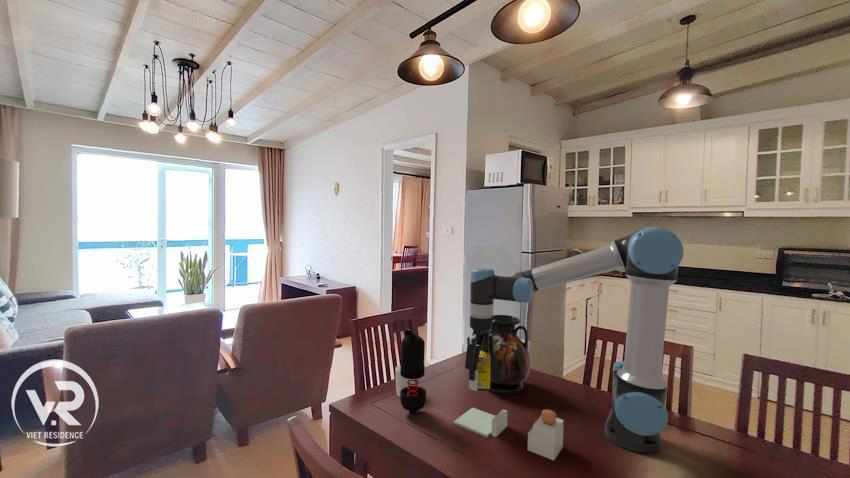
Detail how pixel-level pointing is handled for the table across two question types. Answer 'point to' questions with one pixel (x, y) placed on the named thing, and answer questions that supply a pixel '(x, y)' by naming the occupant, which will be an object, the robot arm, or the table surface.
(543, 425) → the dock
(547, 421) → the brown egg
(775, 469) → the table surface
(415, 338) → the filter
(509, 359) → the amphora vase
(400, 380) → the white cup
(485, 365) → the supplement box
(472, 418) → the pad
